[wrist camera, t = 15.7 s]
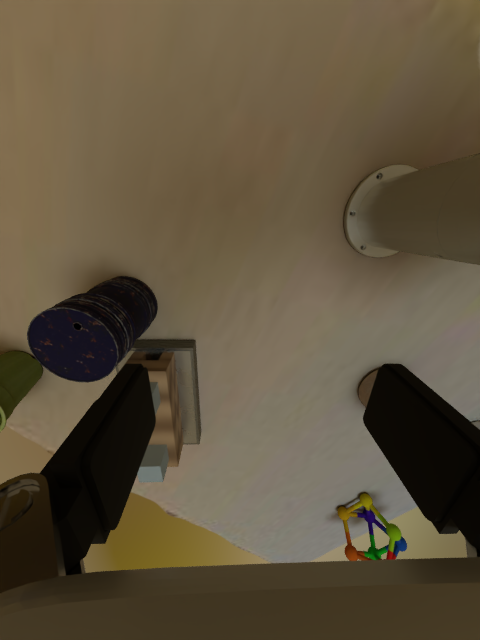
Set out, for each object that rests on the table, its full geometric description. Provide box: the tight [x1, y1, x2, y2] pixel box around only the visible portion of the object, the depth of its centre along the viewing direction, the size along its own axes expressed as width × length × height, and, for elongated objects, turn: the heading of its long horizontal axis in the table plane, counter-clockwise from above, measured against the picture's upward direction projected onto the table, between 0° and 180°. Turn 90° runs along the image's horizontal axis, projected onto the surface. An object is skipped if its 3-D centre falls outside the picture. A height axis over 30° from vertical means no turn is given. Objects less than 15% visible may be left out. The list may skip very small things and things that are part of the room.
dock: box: [116, 340, 201, 444], centre depth 45 cm, size 14×24×3 cm, turn 179°
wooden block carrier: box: [121, 352, 184, 467], centre depth 41 cm, size 22×7×6 cm, turn 179°
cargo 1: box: [150, 382, 161, 415], centre depth 34 cm, size 4×4×4 cm
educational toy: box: [338, 493, 407, 561], centre depth 59 cm, size 16×13×15 cm
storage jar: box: [27, 276, 158, 382], centre depth 32 cm, size 10×10×15 cm
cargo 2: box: [137, 444, 169, 482], centre depth 40 cm, size 4×4×4 cm
